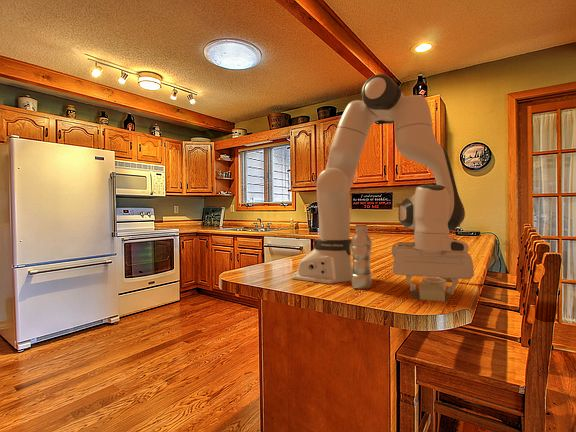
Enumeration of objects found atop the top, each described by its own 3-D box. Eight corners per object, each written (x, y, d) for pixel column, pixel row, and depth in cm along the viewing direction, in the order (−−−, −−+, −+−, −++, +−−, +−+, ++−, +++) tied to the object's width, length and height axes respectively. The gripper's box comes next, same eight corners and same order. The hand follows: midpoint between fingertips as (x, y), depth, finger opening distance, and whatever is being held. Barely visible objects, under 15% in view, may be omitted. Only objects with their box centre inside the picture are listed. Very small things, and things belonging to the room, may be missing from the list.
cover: (420, 299, 84) (420, 290, 84) (418, 292, 91) (418, 284, 91) (444, 301, 82) (444, 292, 82) (441, 293, 89) (441, 285, 89)
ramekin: (422, 292, 93) (422, 281, 93) (421, 287, 99) (421, 276, 99) (447, 294, 90) (447, 282, 90) (444, 289, 97) (444, 277, 96)
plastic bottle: (351, 291, 95) (351, 225, 95) (350, 285, 102) (350, 224, 101) (373, 291, 94) (373, 225, 94) (370, 286, 101) (370, 224, 100)
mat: (412, 300, 85) (412, 298, 85) (411, 293, 92) (411, 291, 92) (449, 304, 82) (449, 301, 82) (445, 296, 89) (445, 294, 89)
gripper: (391, 242, 87) (391, 292, 87) (475, 245, 80) (475, 299, 80) (392, 240, 93) (391, 286, 93) (470, 242, 86) (470, 292, 86)
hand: (431, 292), depth 87 cm, fingers open, 8 cm apart
